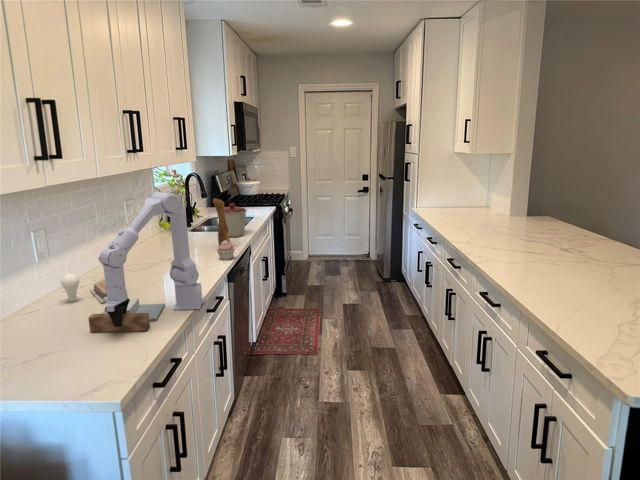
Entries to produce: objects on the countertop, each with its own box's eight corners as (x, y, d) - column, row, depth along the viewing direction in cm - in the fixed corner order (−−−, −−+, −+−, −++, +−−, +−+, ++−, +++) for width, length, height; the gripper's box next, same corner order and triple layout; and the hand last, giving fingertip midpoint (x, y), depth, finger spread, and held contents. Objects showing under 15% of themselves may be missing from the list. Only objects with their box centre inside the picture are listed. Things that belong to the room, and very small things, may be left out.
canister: (233, 240, 267) (232, 206, 262) (212, 236, 276) (211, 203, 271) (253, 235, 281) (252, 202, 277) (233, 231, 291) (231, 200, 286)
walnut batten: (149, 326, 145) (148, 312, 144) (146, 330, 142) (145, 316, 141) (94, 328, 144) (92, 313, 143) (90, 332, 141) (88, 317, 140)
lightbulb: (78, 303, 165) (74, 276, 163) (61, 304, 164) (57, 277, 162) (84, 298, 171) (80, 271, 169) (67, 298, 170) (63, 272, 168)
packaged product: (127, 287, 170) (100, 293, 164) (129, 299, 171) (101, 305, 165) (114, 276, 184) (88, 281, 177) (115, 287, 185) (89, 292, 179)
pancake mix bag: (220, 251, 240) (217, 201, 234) (214, 244, 258) (212, 196, 251) (232, 250, 243) (230, 200, 236) (226, 243, 260) (224, 196, 254)
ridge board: (164, 305, 164) (164, 295, 163) (156, 321, 150) (155, 310, 149) (108, 308, 161) (107, 298, 160) (95, 324, 148) (93, 313, 147)
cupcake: (237, 256, 231) (236, 238, 229) (232, 261, 222) (231, 242, 220) (220, 256, 232) (219, 237, 230) (214, 261, 223) (213, 241, 221)
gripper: (109, 277, 146) (114, 315, 149) (93, 292, 132) (99, 334, 135) (131, 277, 147) (135, 314, 150) (118, 291, 133) (122, 333, 136)
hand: (119, 323), depth 143 cm, fingers closed on walnut batten, 3 cm apart
